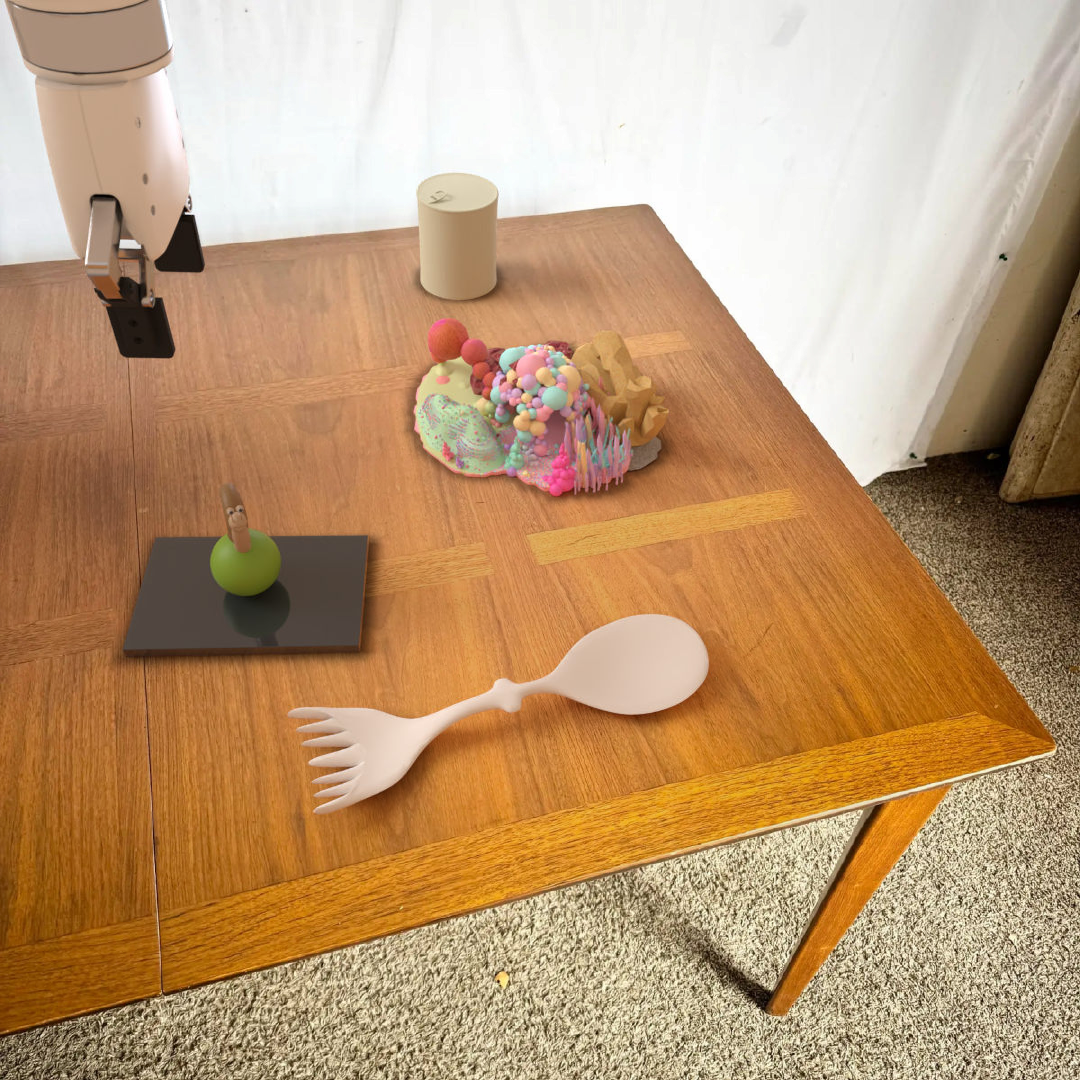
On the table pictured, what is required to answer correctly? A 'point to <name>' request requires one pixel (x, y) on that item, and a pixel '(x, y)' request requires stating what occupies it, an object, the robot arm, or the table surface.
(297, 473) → the table surface
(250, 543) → the apple with worm toy
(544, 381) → the candy landscape model
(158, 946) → the table surface
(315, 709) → the spoon
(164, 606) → the slate board
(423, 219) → the can
